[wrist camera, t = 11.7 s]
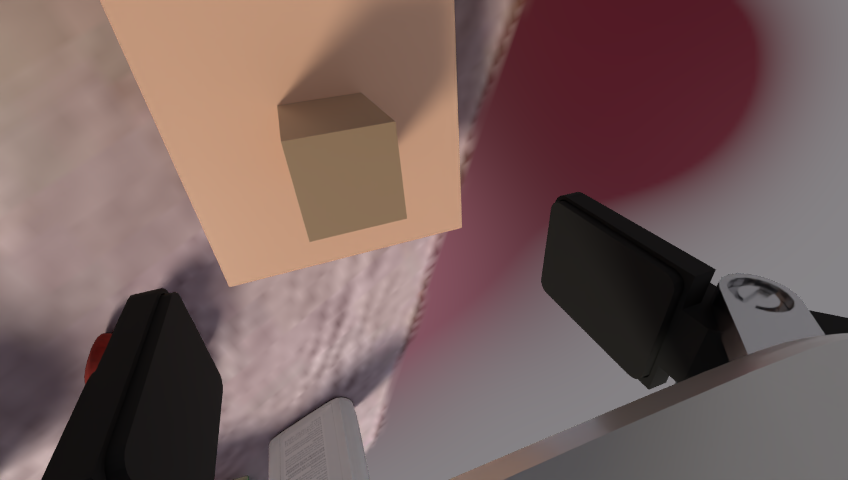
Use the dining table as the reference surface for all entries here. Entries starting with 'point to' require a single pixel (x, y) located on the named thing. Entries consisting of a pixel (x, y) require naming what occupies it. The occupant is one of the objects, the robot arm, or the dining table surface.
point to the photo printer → (320, 446)
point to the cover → (302, 121)
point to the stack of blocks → (243, 478)
